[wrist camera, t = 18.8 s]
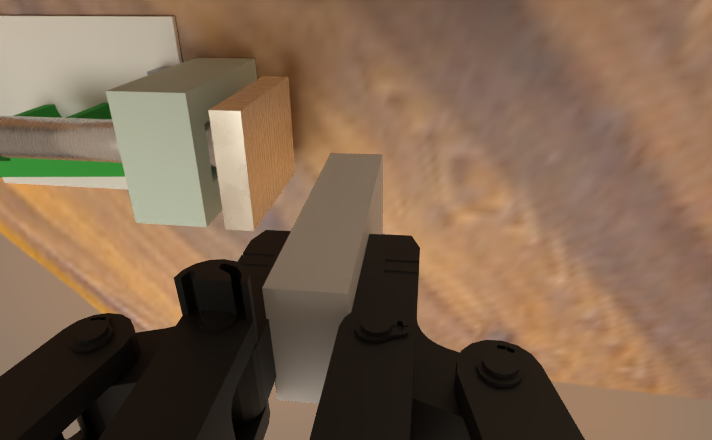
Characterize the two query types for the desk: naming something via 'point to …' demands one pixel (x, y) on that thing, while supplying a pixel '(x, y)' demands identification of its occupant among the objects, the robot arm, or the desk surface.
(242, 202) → the shaft
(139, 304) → the desk surface
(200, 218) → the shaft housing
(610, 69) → the desk surface
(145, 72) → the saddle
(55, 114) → the pipe clamp
